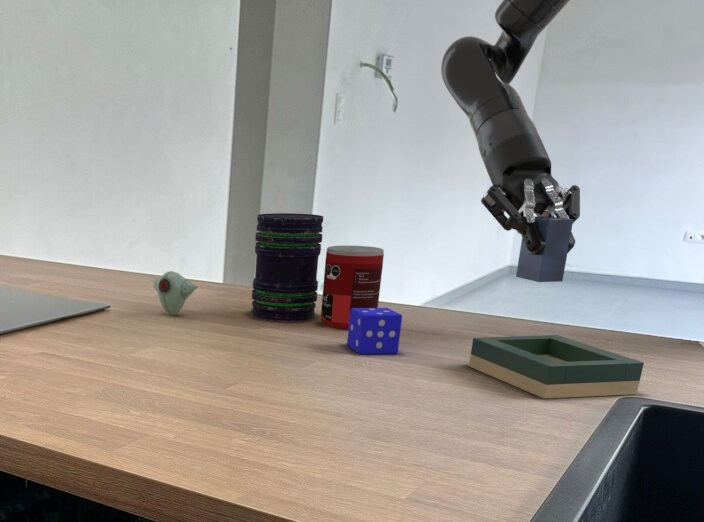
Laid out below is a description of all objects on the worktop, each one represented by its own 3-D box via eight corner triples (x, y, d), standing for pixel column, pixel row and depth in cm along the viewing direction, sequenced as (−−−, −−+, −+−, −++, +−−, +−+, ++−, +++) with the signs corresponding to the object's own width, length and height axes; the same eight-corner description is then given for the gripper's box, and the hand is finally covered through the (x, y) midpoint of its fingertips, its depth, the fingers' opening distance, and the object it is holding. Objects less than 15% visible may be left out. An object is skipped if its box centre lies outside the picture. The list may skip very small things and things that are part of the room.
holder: (551, 363, 104) (556, 334, 103) (637, 394, 91) (644, 362, 90) (468, 366, 103) (472, 337, 101) (543, 398, 90) (549, 366, 88)
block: (538, 276, 118) (548, 216, 116) (562, 281, 114) (573, 219, 111) (515, 276, 118) (525, 216, 115) (538, 282, 113) (549, 219, 110)
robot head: (199, 316, 131) (201, 272, 129) (182, 320, 129) (184, 275, 126) (159, 310, 137) (160, 267, 134) (142, 313, 134) (143, 269, 132)
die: (398, 354, 109) (402, 314, 107) (359, 354, 108) (363, 315, 107) (383, 345, 113) (388, 307, 112) (346, 345, 113) (350, 307, 111)
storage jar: (284, 307, 139) (291, 212, 134) (329, 317, 131) (338, 216, 126) (237, 313, 134) (242, 214, 129) (280, 324, 126) (288, 219, 121)
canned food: (326, 317, 131) (332, 244, 127) (379, 322, 128) (388, 247, 124) (314, 326, 125) (321, 249, 121) (371, 331, 121) (379, 252, 118)
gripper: (479, 131, 115) (520, 233, 108) (574, 131, 117) (620, 231, 110) (452, 171, 122) (489, 270, 115) (542, 171, 124) (584, 267, 117)
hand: (553, 250), depth 113 cm, fingers closed on block, 3 cm apart
